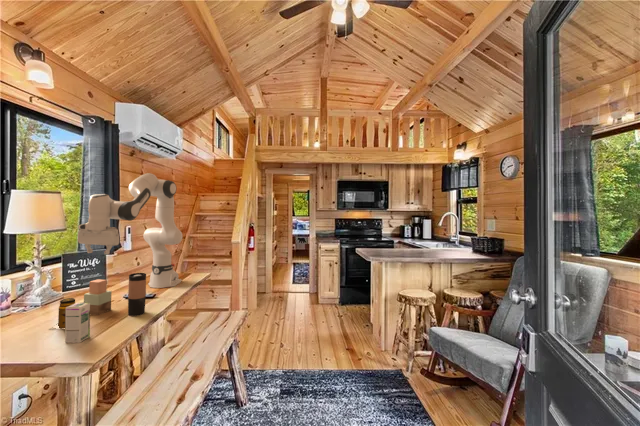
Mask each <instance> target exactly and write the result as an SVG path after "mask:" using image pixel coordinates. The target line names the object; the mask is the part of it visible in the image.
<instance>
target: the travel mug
mask: <svg viewBox="0 0 640 426" xmlns="http://www.w3.org/2000/svg"><path fill="white" fill-rule="evenodd" d="M127 293H128V294H127V315H128V316H129V317H137V316H139V317H140V316H142V315H144V314H145V313H146V312H145V311H146V296H147V295H146V294H147V273H145V272H134V273H130V274H129V275H128V291H127Z"/></svg>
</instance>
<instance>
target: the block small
mask: <svg viewBox="0 0 640 426" xmlns="http://www.w3.org/2000/svg"><path fill="white" fill-rule="evenodd" d="M88 285H89V289H88V290H89V291H88V293H89V294H101V293H104V292H106V290H107V289H108V288H107V287H108V286H107V285H108V280H107V279H99V278H97V279H94V280H91V281H89V284H88ZM107 291H108V290H107Z"/></svg>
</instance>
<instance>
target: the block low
mask: <svg viewBox="0 0 640 426" xmlns="http://www.w3.org/2000/svg"><path fill="white" fill-rule="evenodd" d="M111 310H112V300H111V301H109V302H106V303H103V304H101V305H90V316H91V315H92V316H100V315H102V314H104V313H107V312H110V311H111Z"/></svg>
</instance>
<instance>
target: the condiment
mask: <svg viewBox="0 0 640 426" xmlns="http://www.w3.org/2000/svg"><path fill="white" fill-rule="evenodd" d="M75 303H76V299H75V298H73V297H68V298H62V299H61V300H60V301H59V306H58V317H57V318H58V319H57V320H58V321H57V322H58V323H56V324H55V325H57V324H58V326H59V328H65V323H66V307H69V306H71V305H73V304H75ZM52 328H53V326H52V327H50V328H49V330H57V329H56V328H53V329H52Z"/></svg>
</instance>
